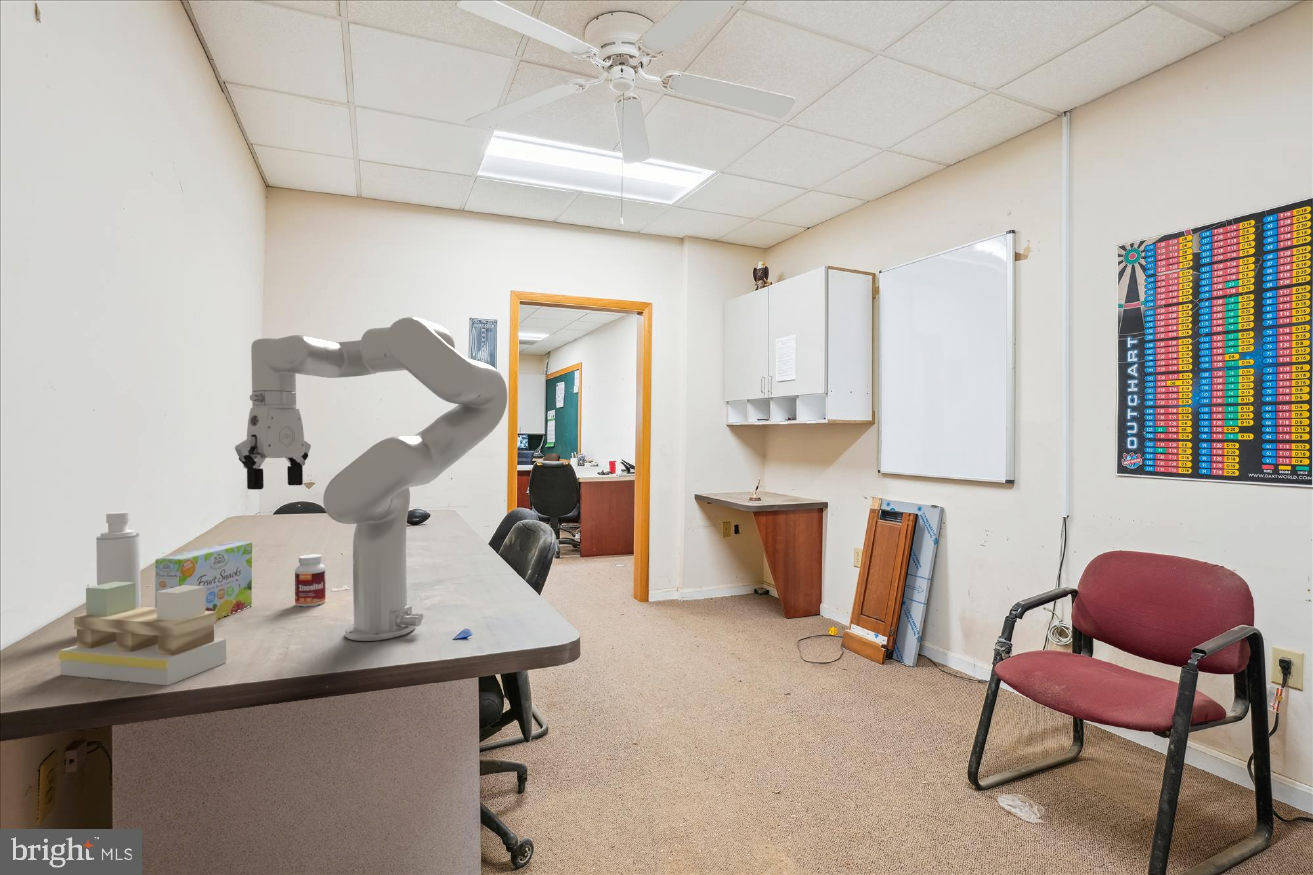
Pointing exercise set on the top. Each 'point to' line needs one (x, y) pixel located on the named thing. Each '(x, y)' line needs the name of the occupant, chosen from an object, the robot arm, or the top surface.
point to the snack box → (211, 575)
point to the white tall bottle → (119, 553)
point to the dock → (141, 662)
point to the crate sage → (110, 598)
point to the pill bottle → (310, 581)
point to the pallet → (145, 631)
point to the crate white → (180, 603)
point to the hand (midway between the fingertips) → (276, 487)
